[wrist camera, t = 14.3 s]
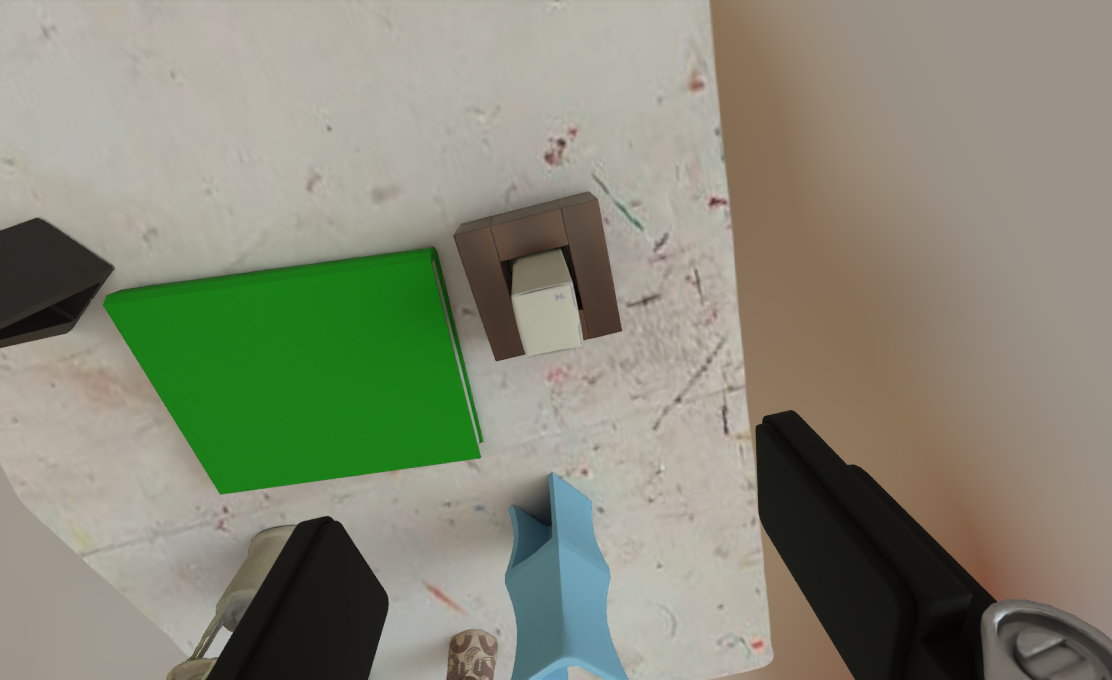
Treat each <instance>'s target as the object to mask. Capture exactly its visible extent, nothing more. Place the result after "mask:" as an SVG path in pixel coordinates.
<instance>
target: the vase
mask: <svg viewBox="0 0 1112 680" xmlns="http://www.w3.org/2000/svg"><path fill="white" fill-rule="evenodd" d="M548 480H549V490H550V501H551V515H552V526H545V525H543V524H541V523H540V522H538V521H537V520H535V519H534V518H532V517H531V516H529V515H528V514H526V513H525V512H523V511H522V510H520V509H519V508H517V507H516V506H514V505H512V506H511V507H510V508H509V513H510V516H511V520H512V524H513V530H514V542H513V549H512V554H511V558H510V561H509V565H508V568H507V571H506V574H505V584H506V587H507V590H508V592H509V595H510V598H511V601H512V604H513V608H514V612H515V616H516V624H517V647H516V656H515V663H514V668H513V673H512V678H511V680H568V671H567V667H568V666H578V667H581V668H583V669H585V670H587V671H589V672H591V673H593V674H595V675H597V676H599V677H601V678H603V679H604V680H628V677H627V675H626V673H625V671H624V669H623V667H622V665H621V662H620V660H619V658H618V655H617V653H616V650H615V648H614V645H613V642H612V639H611V636H610V632H609V628H608V624H607V613H606V607H607V594H608V588H609V582H610V577H611V576H610V570H609V567H608V565H607V563H606V561H605V559H604V557H603V555H602V553H601V551H600V549H599V546H598V544H597V541H596V538H595V535H594V531H593V526H592V503H591V501H590V500H589V499H588V498H587V497H586V496H584V495H583V494H582V493H580V492H579V491H577V490H576V489H575V488H573V487H572V486H571V485H569V484H568V483H566V482H565V481H564V480H562V479H561V478H560V477H558V476H557V475H555V474H554V473H551V474H550V475H549V476H548Z"/></svg>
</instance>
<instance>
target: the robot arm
mask: <svg viewBox="0 0 1112 680" xmlns="http://www.w3.org/2000/svg"><path fill="white" fill-rule="evenodd" d="M756 454H757V483H758V510H759V516H760V520H761V523H762V525H763V527H764V529H765V531H766V533H767V534H768V536H769V537H770V539H771V541H772V543H773V544H774V546H775V547H776V549H777V551H778V553H779V554H780V556H781V558H782V559H783V561H784V563H785V564H786V566H787V567H788V569H789V571H790V572H791V574H792V576H793V577H794V579H795V581H796V582H797V584H798V585H799V587H800V589H801V591H802V592H803V594H804V596H805V597H806V599H807V601H808V602H809V604H810V606H811V607H812V609H813V610H814V612H815V614H816V616H817V617H818V619H819V621H820V622H821V624H822V625H823V627H824V629H825V630H826V632H827V634H828V635H829V637H830V639H831V640H832V642H833V644H834V645H835V647H836V649H837V650H838V652H839V654H840V655H841V657H842V659H843V660H844V662H845V664H846V665H847V667H848V669H849V670H850V672H851V674H852V675H853V677H854V679H855V680H1112V640H1111V639H1110V638H1109V637H1108V636H1106V635H1105V634H1104V633H1102V632H1101V631H1100V630H1098V629H1097V628H1095V627H1093V626H1091V625H1090V624H1088V623H1087V622H1085V621H1083V620H1081V619H1080V618H1078V617H1076V616H1075V615H1072V614H1070V613H1067V612H1065V611H1063V610H1060V609H1058V608H1055V607H1053V606H1050V605H1047V604H1043V603H1038V602H1034V601H1030V600H1016V599H1006V600H1003V601H1000V602H997V601H996V600H995V599H994V598H993V597H992V596H991V595H990V594H989V593H988V592H987V591H986V590H985V589H984V588H983V587H982V586H981V585H980V584H979V583H978V582H977V581H976V580H975V579H974V578H973V577H972V576H971V575H970V574H969V573H968V572H967V571H966V570H965V569H964V568H963V567H962V566H961V565H960V564H959V563H958V562H957V561H956V560H955V559H954V558H953V557H952V556H951V555H950V554H949V553H948V552H946V550H945V549H944V548H943V547H942V546H941V545H940V544H939V543H938V542H936V540H935V539H934V538H933V537H931V535H930V534H928V533H927V531H925V529H923V528H922V527H921V526H920V525H919V524H918V523H917V522H916V521H915V520H914V519H913V518H912V517H911V516H910V515H909V514H908V513H907V512H906V511H905V510H904V509H903V508H902V507H901V506H900V505H899V504H898V503H897V502H896V501H895V500H894V499H893V498H892V497H891V496H890V495H889V494H888V493H887V492H886V491H885V490H884V489H883V488H882V487H881V486H880V485H879V484H878V483H877V482H876V481H875V480H874V479H873V478H872V477H871V476H870V475H869V474H868V473H867V472H865V471H864V470H863V469H862V468H861V467H859V466H856V465H847V464H846V463H845V462H844V461H843V460H842V459H841V458H840V457H839V456H838V455H837V454H836V453H835V452H834V451H833V450H832V449H831V448H830V447H829V446H828V445H827V444H826V442H824V440H823V439H821V437H820V436H819V435H818V434H817V433H816V432H815V431H814V430H813V429H812V428H811V427H810V426H809V425H808V424H807V423H806V422H805V421H804V420H803V419H802V418H801V417H800V416H799V415H798V414H797V413H796V412H795V411H792V410H789V411H785V412H780V413H776V414H772V415H767V416H764V418H763V420H762V424H759V425H757V426H756ZM388 606H389V601H388V595H387V593H386V591H385V590H384V588H383V587H382V585H381V584H380V582H379V581H378V579H377V578H376V576H375V575H374V573H373V571H372V570H371V568H370V567H369V565H368V564H367V562H366V561H365V559H364V558H363V556H362V555H361V553H360V552H359V550H358V549H357V547H356V546H355V544H354V542H353V541H352V539H351V538H350V536H349V535H348V533H347V532H346V530H345V529H344V527H343V526H342V524H341V523H340V522H338V521H334V520H333V519H332V518H331V517H329V516H325V517H320V518H316V519H311V520H307V521H303V522H301V523H299V524H298V525H297V526H296V527H295V529H294V530H293V532H292V534H291V535H290V537H289V539H288V540H287V542H286V544H285V545H284V547H283V549H282V551H281V552H280V554H279V556H278V557H277V559H276V561H275V562H274V564H273V566H272V568H271V569H270V571H269V573H268V574H267V576H266V578H265V579H264V581H263V583H262V585H261V586H260V588H259V590H258V591H257V593H256V595H255V596H254V598H253V600H252V601H251V603H250V605H249V607H248V608H247V610H246V612H245V613H244V615H243V617H242V618H241V620H240V622H239V624H238V625H237V627H236V629H235V630H234V632H233V634H232V635H231V637H230V639H229V641H228V642H227V644H226V646H225V647H224V649H223V651H222V652H221V654H220V656H219V658H218V659H217V661H216V663H215V664H214V666H213V668H212V669H211V671H210V673H209V674H208V676H207V678H206V680H368V678H369V674H370V671H371V667H372V664H373V660H374V657H375V654H376V650H377V647H378V643H379V640H380V636H381V633H382V629H383V626H384V623H385V619H386V616H387V612H388Z"/></svg>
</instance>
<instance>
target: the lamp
mask: <svg viewBox="0 0 1112 680" xmlns="http://www.w3.org/2000/svg"><path fill="white" fill-rule="evenodd" d="M295 527H296V526H295V525H294V526H284V527H279V528H274V529H269V530H266V531H263V532H261V533H259V534H258V535H257V536H255V537H254V538H253V539H252V541H251V544H250V547H249V551H248V556H247V558H246V559H245V561H244V562H243V564H242V566H241V567H240V569H239V570H238V572H237V574H236V575H235V577H234V578H233V580H232V581H231V583H230V585H229V586H228V588H227V589H226V591H225V592H224V594H223V595H222V597H221V598H220V600H219V602H218V604H217V605H216V615H215V617H214V619H213V620H212V622H211V623H210V625H209V627H208V628H207V630H206V631H205V633H204V634H203V636H202V639H201V641H200V643H199V645H198V646H197V647H196V649H195V651H194V653H193V655H192V656H191V657H190V658H189V659H188V660H187V661H185V662H183V663H181V664H179V665H177V666H176V667H174V668H173V669H172V670H171V671H170V672H169V674H168V675H167V680H206V678H207V676H208V674H209V673H210V671H211V669H212V668H213V666H214V664H215V663H216V661H217V659H218V657H214V658H212V659H208V658H203V656H204V654H205V653H206V651H207V650H208V648H209V646H210V645H211V643H212V641H213V639H214V638H215V636H216V634H217V633H218V631H219V629H220V628H221V627H222V626H224V627H225V628H226V629H228V630H229V631H231V632H234V630H235V629H236V627H237V625H238V624H239V622H240V620H241V618H242V617H243V615H244V613H245V612H246V610H247V608H248V607H249V605H250V603H251V601H252V600H253V598H254V596H255V595H256V593H257V591H258V590H259V588H260V586H261V585H262V583H263V581H264V579H265V578H266V576H267V574H268V573H269V571H270V569H271V568H272V566H273V564H274V562H275V561H276V559H277V557H278V556H279V554H280V552H281V551H282V549H283V547H284V545H285V544H286V542H287V540H288V539H289V537H290V535H291V534H292V532H293V530H294V529H295ZM218 621H219V622H218ZM217 623H218V624H217ZM216 625H217V626H216ZM215 626H216V627H215ZM214 627H215V629H214ZM213 629H214V630H213ZM212 631H213V632H212ZM208 636H210V637H209V638H208V640H207V641H206V643H205V645H204V646H203V644H204V642H205V640H206V638H207V637H208ZM202 646H203V648H202ZM201 648H202V650H201V651H200V653H199V655H198V656H197V654H198V652H199V650H200V649H201ZM196 656H197V658H196Z"/></svg>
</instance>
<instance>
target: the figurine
mask: <svg viewBox="0 0 1112 680" xmlns="http://www.w3.org/2000/svg"><path fill="white" fill-rule="evenodd" d="M496 659H497V640H496V639H495V638H494V637H493V636H491V635H489V634H487V633H486V632H484V631H482V630H467V631H465V632H463V633H460V634H458V635H456V636H454V637H453V638H452V640H451V643H450V648H449V655H448V670H447V679H446V680H493V676H494V669H495V664H496Z"/></svg>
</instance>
